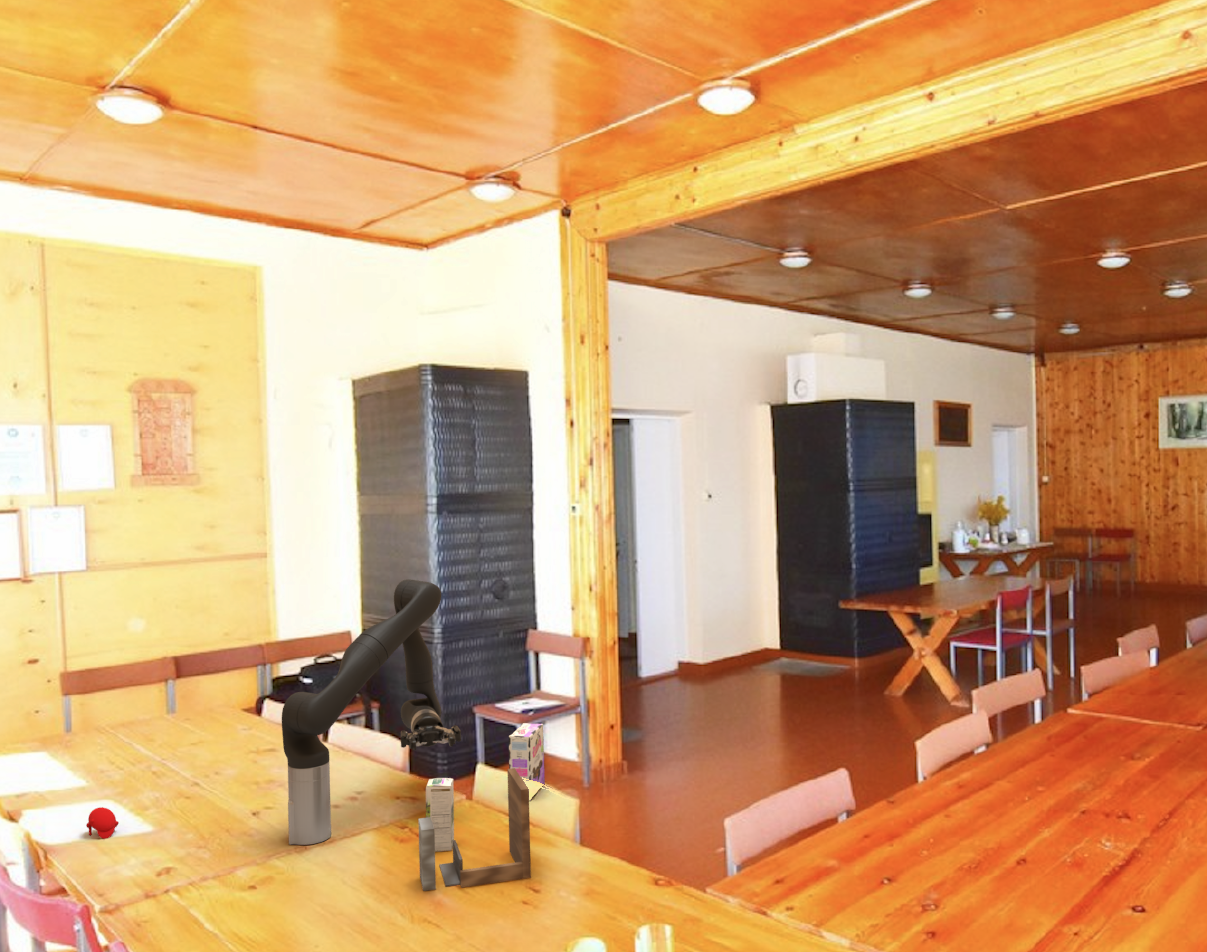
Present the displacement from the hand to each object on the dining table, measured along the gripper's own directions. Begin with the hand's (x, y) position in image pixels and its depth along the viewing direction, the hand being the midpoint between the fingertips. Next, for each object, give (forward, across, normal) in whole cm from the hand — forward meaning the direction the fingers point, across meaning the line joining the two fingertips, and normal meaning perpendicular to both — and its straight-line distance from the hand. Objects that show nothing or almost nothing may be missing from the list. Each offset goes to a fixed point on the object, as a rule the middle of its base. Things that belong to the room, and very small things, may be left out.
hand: (433, 744), depth 220 cm
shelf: (+27, +5, +20) cm, 34 cm away
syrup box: (+11, 0, +20) cm, 23 cm away
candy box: (-19, +26, +20) cm, 38 cm away
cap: (-24, -76, +20) cm, 82 cm away
